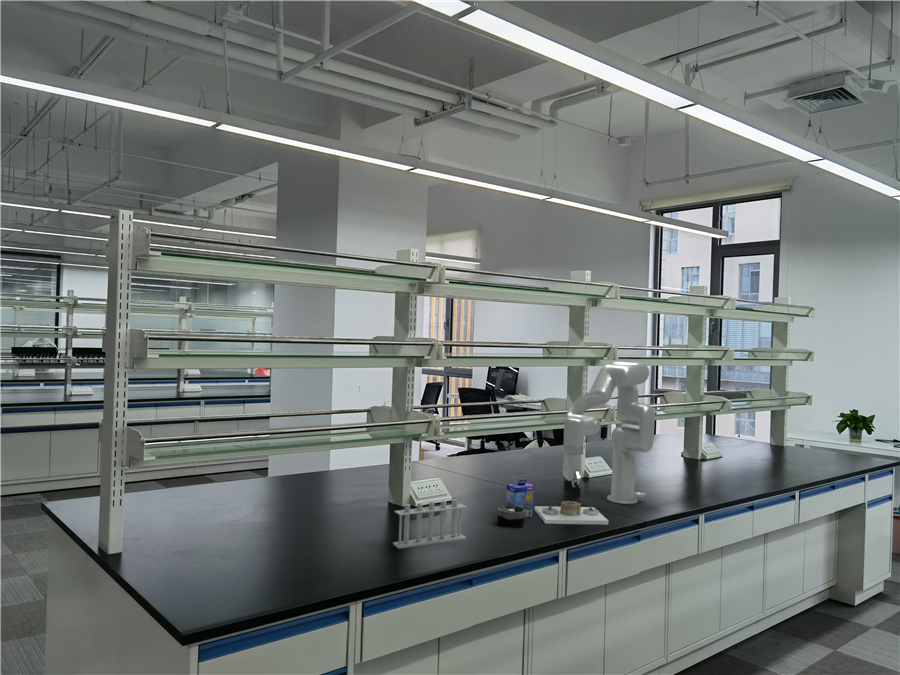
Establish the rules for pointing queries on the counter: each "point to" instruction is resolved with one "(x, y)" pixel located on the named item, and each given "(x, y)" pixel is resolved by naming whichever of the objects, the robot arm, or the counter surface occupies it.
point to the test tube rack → (429, 524)
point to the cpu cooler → (511, 516)
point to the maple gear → (570, 508)
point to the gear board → (570, 516)
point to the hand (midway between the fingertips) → (572, 493)
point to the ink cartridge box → (521, 496)
